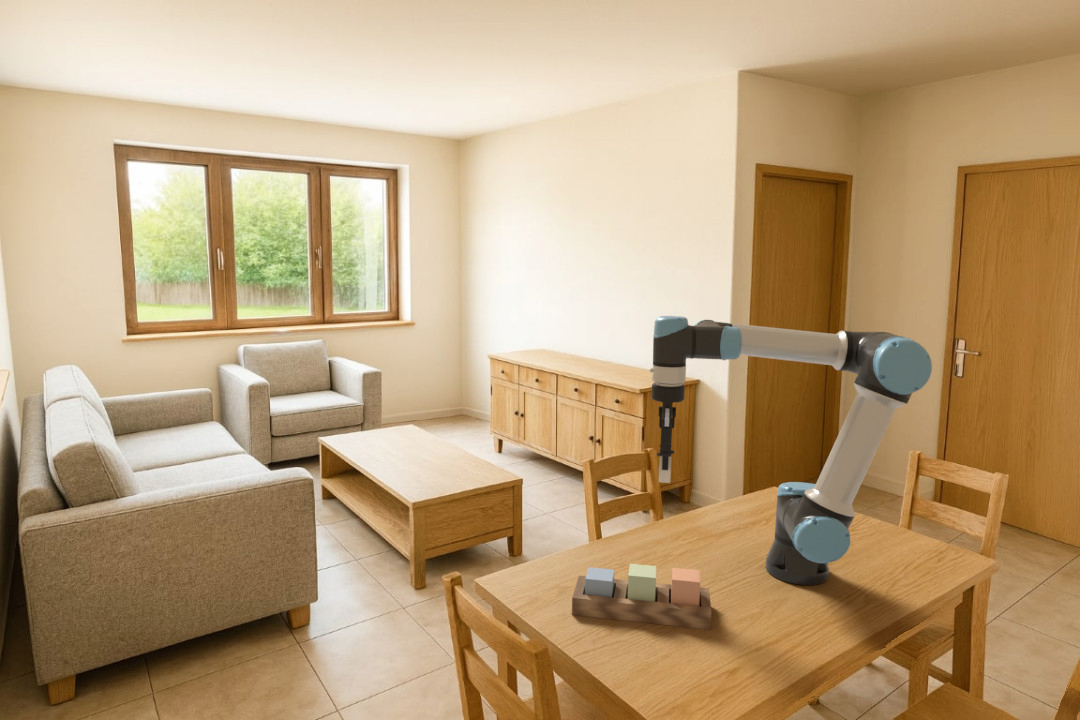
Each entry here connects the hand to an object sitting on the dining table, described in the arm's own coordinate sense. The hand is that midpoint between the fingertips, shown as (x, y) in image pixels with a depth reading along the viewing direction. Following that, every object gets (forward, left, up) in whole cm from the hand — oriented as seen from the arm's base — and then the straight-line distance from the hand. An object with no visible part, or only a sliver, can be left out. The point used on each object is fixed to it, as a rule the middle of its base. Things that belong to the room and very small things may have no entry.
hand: (664, 481), depth 164 cm
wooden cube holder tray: (+4, +12, -26) cm, 29 cm away
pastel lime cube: (+4, +12, -24) cm, 27 cm away
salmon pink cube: (-5, +12, -24) cm, 27 cm away
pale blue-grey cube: (+14, +12, -26) cm, 32 cm away
